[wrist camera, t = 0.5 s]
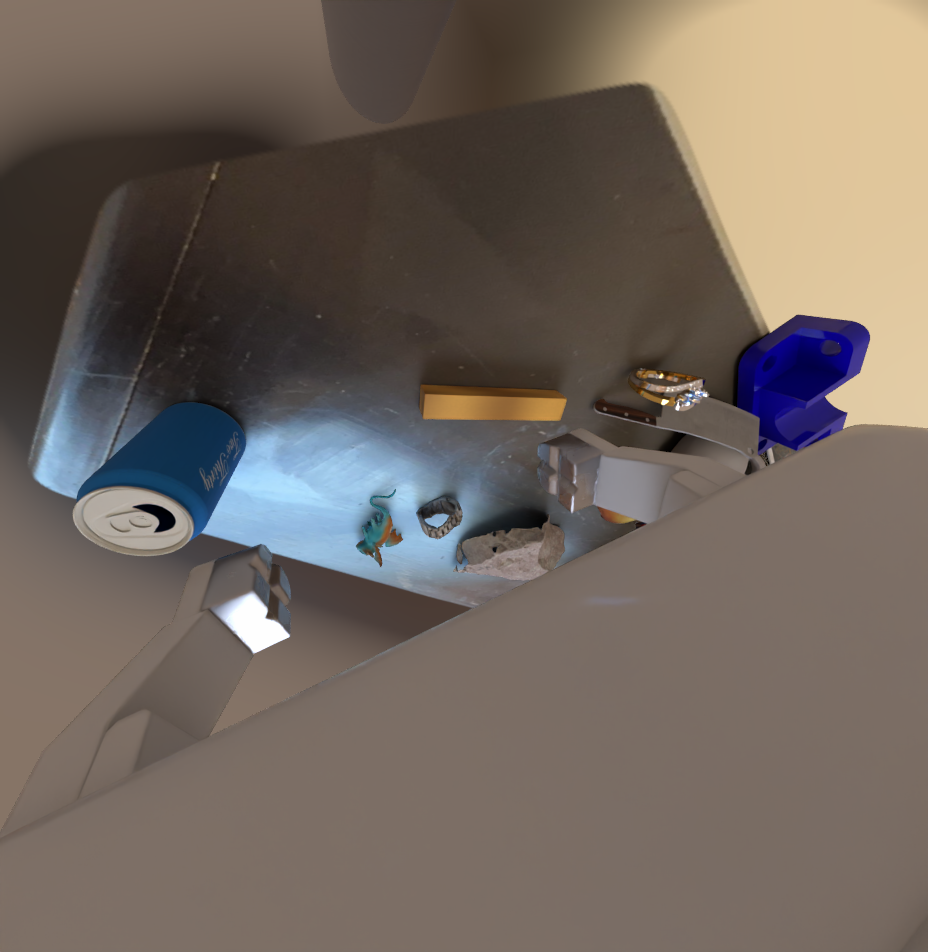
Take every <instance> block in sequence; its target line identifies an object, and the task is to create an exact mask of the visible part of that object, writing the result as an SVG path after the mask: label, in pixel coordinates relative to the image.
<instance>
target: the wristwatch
mask: <svg viewBox="0 0 928 952" xmlns="http://www.w3.org/2000/svg"><path fill="white" fill-rule="evenodd" d="M442 513H444V514H447V515H450V516H449V517H448V519H447V521H446V522H445V523H444V524H443V525H441V526H440V527H438V528H436V527H434V526H431V525H429V524H427V523H426V522H425V519H427V518H431V517H432V516H434V515H436V514H442ZM416 514H417V516H418V519H419V521H420V524H421V527H422V530H423V531H424V533H425V534H426V535H427V536H428V537H431V538H435V539H440V538H442V537H443V536H445V535H446V534H448V533H449V532H450V530H452V529H453V528H454V527H456V526H458V525H460V522H461V520H462V509H461V507H460V505H459V503H458V501H457V500H455V499H452V498H450V497H441V498H439V499H436V500H434V501H432V502H429V503H428V506H425V507H423V508H420V509H419V510H418V511H417V512H416Z"/></svg>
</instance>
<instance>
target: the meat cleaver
mask: <svg viewBox="0 0 928 952" xmlns="http://www.w3.org/2000/svg"><path fill="white" fill-rule="evenodd" d="M681 392H682V391H677V392H664V396H668V397H674V398H675V397H676V396H677V393H681ZM679 403H685V402H682V401H681V400H680V401H679ZM593 409H594V411H595V412H596V413H598V414H602V415H606V416H610V417H614V418H618V419H623V420H627V421H631V422H635V423H639V424H643V425H647V426H651V427H655V428H661V429H667V430H672V431H677V432H681V433H686V434H689V435H693V436H696V437H700V438H703V439H706V440H709V441H712V442H715V443H718V444H721V445H723V446H726V447H729V448H732V449H734V450H736V451H739V452H740V453H742V454H743V455H744V456H745V457H747V458H749V459H750V458H755V457H756V456H757V455H758V438H759V421H760V418H758V417H757V416H755V415H753V414H751V413H748V412H746V411H744V410H742V409H739V408H737V407H735V406H732V405H730V404H727V403H725V402H722V401H719V400H716V399H713V398H710V397H704V396H702V399H700V404H698V403H697V404H696V405H695V406H693V407H692V408H690V409H688V410H685V411H679V410H677V409H675V407H672V406H667V405H663V404H662V410H661V417H655V416H653V415H650V414H648V413H645V412H642V411H639V410H635V409H632V408H629V407H625V406H620V405H615V404H610V403H607V402H606V401H605V400H604V399H600V400H598V401H596V402H595V403H594V405H593ZM748 449H750V450H751V451H752V454H750V453H749V452H748Z"/></svg>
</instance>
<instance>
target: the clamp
mask: <svg viewBox="0 0 928 952" xmlns="http://www.w3.org/2000/svg"><path fill="white" fill-rule="evenodd" d="M869 341H870V335H869V332H868V330H867V329H866V328H865V327H864V326H863V325H861V324H859V323H857V322H853V321H847V320H838V319H830V318H820V317H813V316H805V315H796V316H795V317H793V318H792V319H790V320H789V321H787V322H786V323H784V324H783V325H782V326H780V327H779V328H777V329H776V330H774V331H773V332H771V333H770V334H768V335H767V336H765V337H764V338H763V339H761V340H760V341H758V342H757V343H755V344H754V345H752V346H751V347H750V348H749V349H748V350H747V351H746V353H745V354H744V355H743V357H742V359H741V361H740V364H739V371H738V399H737V408H739V409H742V410H744V411H746V412H748V413H751V414H753V415H755V416H757V417H758V418H760V421H759V438H758V455H761V454H762V453H764V452H765V451H767V450H768V449H770V448H771V447H773V446H774V445H776V444H777V443H779V444H781V445H783V446H786V447H788V448H791V449H793V450H795V451H798V450H800V449H801V448H803V447H807V446H809V445H811V444H813V443H815V442H817V441H820V440H822V439H824V438H826V437H828V436H830V435H832V434H834V433H836V432H838V431H840V430H842V429H843V425H844V422H845V419H846V416H847V413H846V412H843V411H841V410H839V409H837V408H835V407H834V406H833V405H831V404H830V403H829V402H828V401H827V399H826V398H825V396H826V395H827V394H829V393H830V392H832V391H833V390H835V389H836V388H838V387H839V386H841V385H842V384H844V383H845V382H847V381H848V380H850V379H851V378H853V377H854V376H856V375H857V374H859V373H860V370H861V367H862V364H863V361H864V357H865V354H866V351H867V348H868V344H869ZM838 343H839V344H838Z"/></svg>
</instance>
